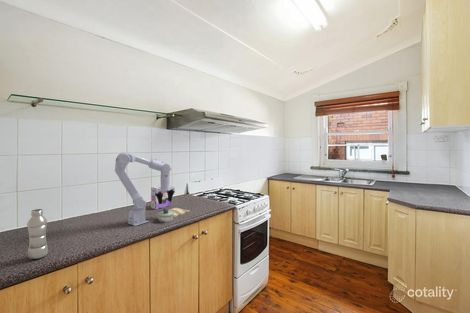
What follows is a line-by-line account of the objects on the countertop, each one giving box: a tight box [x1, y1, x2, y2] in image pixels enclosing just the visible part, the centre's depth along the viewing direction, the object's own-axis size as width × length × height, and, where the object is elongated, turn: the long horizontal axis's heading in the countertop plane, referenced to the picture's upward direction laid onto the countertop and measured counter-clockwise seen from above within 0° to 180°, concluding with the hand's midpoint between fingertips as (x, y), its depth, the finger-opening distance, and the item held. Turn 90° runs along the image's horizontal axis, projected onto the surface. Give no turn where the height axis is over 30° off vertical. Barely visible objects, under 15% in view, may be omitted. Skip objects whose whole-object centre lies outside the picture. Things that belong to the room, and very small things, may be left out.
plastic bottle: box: [26, 208, 49, 260], centre depth 94 cm, size 6×7×20 cm
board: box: [168, 207, 191, 218], centre depth 159 cm, size 16×14×1 cm
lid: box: [157, 207, 174, 217], centre depth 143 cm, size 10×10×4 cm
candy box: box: [150, 185, 171, 211], centre depth 173 cm, size 14×6×16 cm, turn 143°
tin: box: [157, 215, 174, 224], centre depth 143 cm, size 9×9×4 cm
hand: (165, 202), depth 147 cm, fingers open, 7 cm apart
